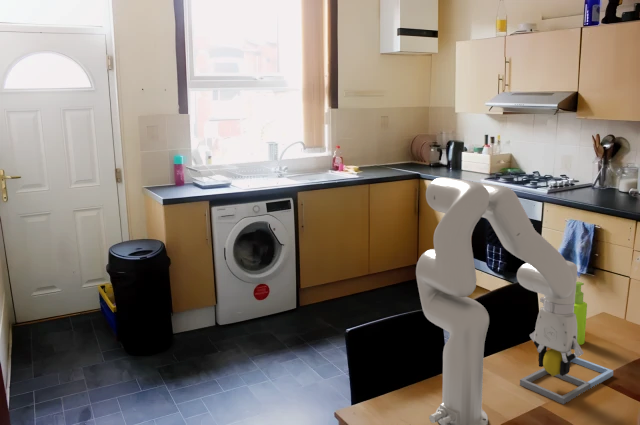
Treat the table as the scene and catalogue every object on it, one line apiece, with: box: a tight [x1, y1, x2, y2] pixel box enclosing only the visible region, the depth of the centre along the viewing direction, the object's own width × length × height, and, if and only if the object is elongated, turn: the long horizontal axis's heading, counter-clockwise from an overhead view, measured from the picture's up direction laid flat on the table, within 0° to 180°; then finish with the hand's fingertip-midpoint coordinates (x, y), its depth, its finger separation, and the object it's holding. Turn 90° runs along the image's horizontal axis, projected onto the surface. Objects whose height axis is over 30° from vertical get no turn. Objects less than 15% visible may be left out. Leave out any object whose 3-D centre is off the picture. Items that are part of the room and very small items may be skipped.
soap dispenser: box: [574, 281, 588, 346], centre depth 179 cm, size 6×7×20 cm
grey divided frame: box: [519, 356, 614, 405], centre depth 156 cm, size 25×13×2 cm, turn 126°
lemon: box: [543, 348, 563, 377], centre depth 151 cm, size 6×6×8 cm
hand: (553, 369), depth 151 cm, fingers closed on lemon, 5 cm apart
